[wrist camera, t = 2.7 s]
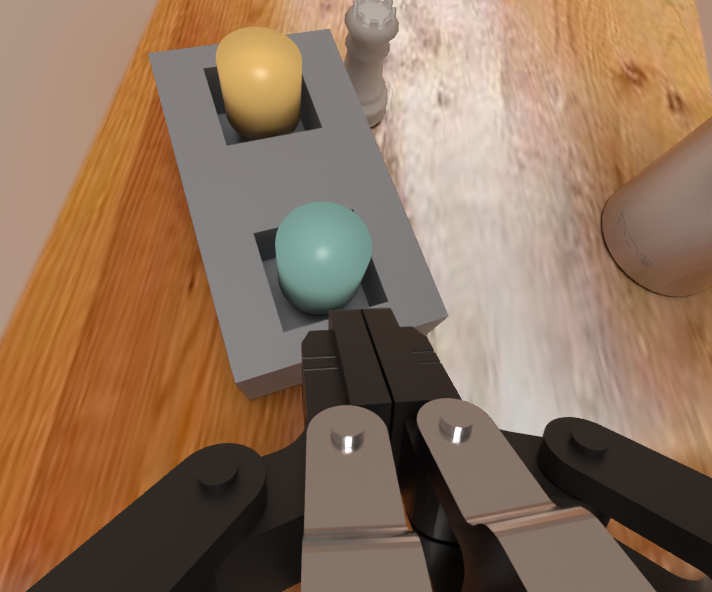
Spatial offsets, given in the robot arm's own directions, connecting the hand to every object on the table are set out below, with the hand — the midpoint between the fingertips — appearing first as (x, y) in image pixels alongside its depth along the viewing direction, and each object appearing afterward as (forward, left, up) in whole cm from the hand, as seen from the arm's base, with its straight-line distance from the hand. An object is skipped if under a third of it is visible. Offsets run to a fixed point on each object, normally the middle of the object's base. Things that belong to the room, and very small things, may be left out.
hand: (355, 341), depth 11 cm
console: (-1, -10, -15) cm, 19 cm away
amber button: (-1, -15, -9) cm, 18 cm away
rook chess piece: (-9, -19, -16) cm, 26 cm away
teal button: (-1, -5, -9) cm, 11 cm away
